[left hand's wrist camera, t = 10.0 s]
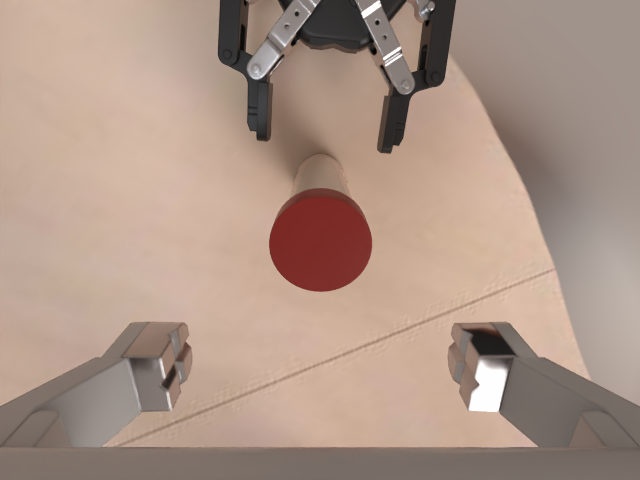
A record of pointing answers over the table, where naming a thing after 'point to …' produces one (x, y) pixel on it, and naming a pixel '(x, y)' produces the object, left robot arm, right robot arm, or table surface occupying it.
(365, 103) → the table surface
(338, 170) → the beige cylindrical piece
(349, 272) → the lid
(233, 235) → the table surface
